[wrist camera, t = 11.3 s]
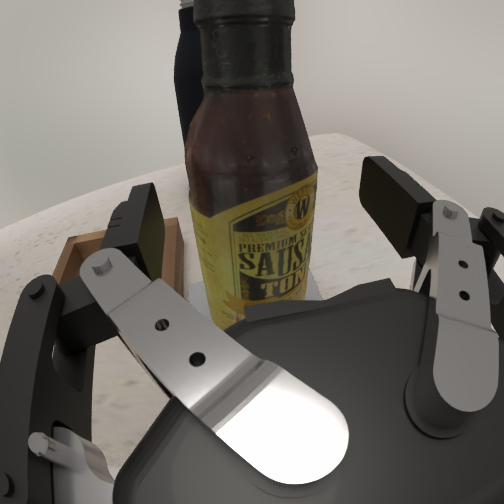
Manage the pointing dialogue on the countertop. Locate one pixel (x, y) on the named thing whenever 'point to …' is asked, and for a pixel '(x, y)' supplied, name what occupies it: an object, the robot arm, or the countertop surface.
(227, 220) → the sauce bottle
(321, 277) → the countertop surface
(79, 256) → the walnut cradle
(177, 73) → the black water bottle
